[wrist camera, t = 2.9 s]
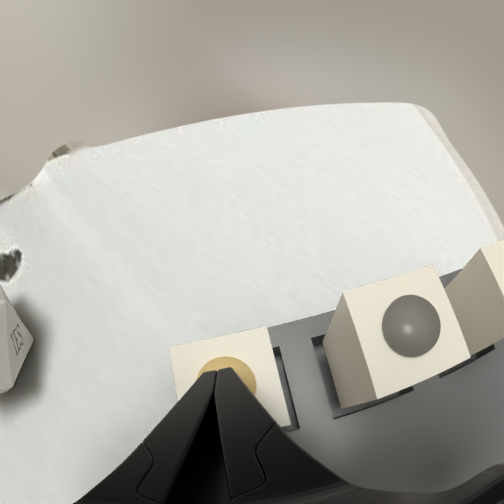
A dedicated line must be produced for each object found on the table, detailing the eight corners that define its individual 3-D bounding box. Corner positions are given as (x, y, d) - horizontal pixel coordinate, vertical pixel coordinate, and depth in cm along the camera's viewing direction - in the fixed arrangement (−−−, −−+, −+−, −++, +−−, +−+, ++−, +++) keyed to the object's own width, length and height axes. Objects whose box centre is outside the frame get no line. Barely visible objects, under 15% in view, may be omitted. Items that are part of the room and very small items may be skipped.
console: (504, 450, 11) (533, 449, 9) (232, 551, 11) (222, 572, 8) (453, 286, 17) (473, 264, 15) (189, 360, 17) (172, 347, 14)
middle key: (406, 384, 12) (473, 355, 7) (341, 408, 12) (379, 398, 7) (385, 322, 14) (435, 261, 9) (322, 342, 14) (344, 289, 8)
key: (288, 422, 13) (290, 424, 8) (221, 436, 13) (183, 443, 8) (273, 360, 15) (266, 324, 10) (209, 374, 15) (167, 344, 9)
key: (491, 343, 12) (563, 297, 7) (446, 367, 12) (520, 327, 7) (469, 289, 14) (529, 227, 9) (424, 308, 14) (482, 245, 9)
